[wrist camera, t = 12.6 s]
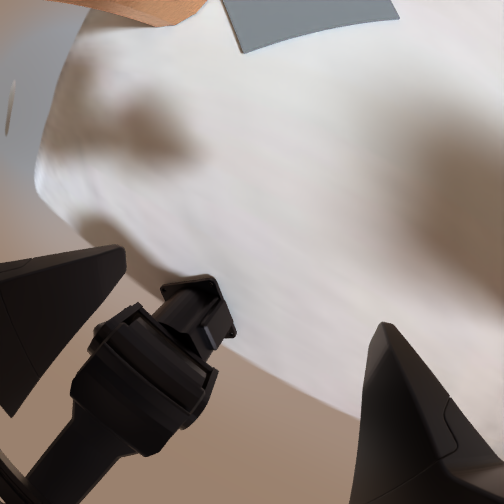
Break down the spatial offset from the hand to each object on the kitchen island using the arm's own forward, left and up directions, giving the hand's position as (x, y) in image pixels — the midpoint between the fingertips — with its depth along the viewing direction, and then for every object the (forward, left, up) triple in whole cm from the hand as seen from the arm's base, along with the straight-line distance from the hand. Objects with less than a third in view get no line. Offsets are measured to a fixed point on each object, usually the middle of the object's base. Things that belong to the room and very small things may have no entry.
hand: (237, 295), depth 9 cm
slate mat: (+5, +17, -13) cm, 22 cm away
